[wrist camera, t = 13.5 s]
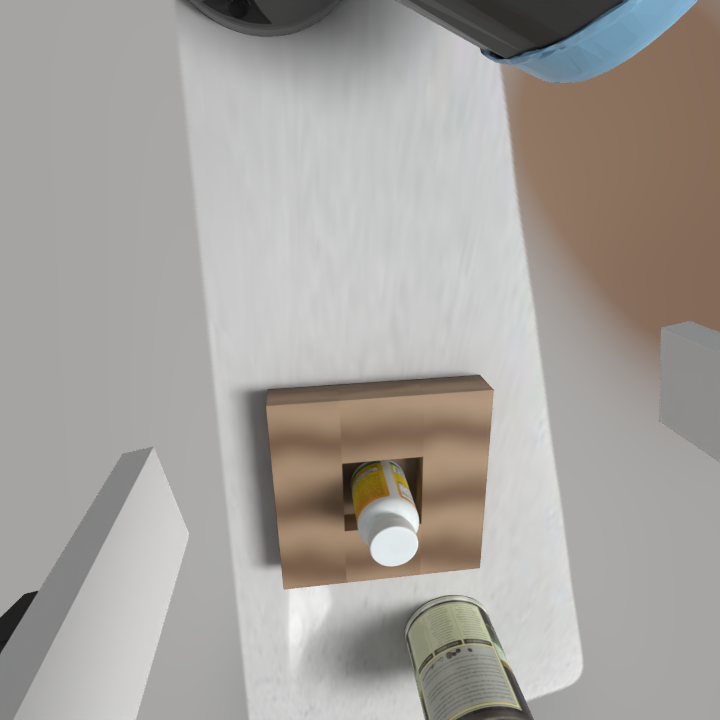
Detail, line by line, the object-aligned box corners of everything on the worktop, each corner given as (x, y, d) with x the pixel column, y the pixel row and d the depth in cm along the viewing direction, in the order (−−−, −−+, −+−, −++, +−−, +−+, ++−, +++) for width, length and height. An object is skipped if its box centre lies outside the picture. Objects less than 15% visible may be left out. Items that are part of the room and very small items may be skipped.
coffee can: (506, 616, 60) (566, 741, 47) (450, 671, 62) (492, 806, 49) (442, 580, 57) (487, 703, 43) (385, 640, 59) (412, 775, 46)
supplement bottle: (409, 460, 49) (435, 523, 40) (396, 505, 51) (418, 576, 42) (356, 452, 48) (370, 516, 39) (344, 499, 50) (355, 570, 41)
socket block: (267, 389, 46) (265, 406, 43) (480, 375, 48) (493, 389, 45) (284, 563, 53) (283, 589, 50) (468, 544, 55) (479, 567, 52)
